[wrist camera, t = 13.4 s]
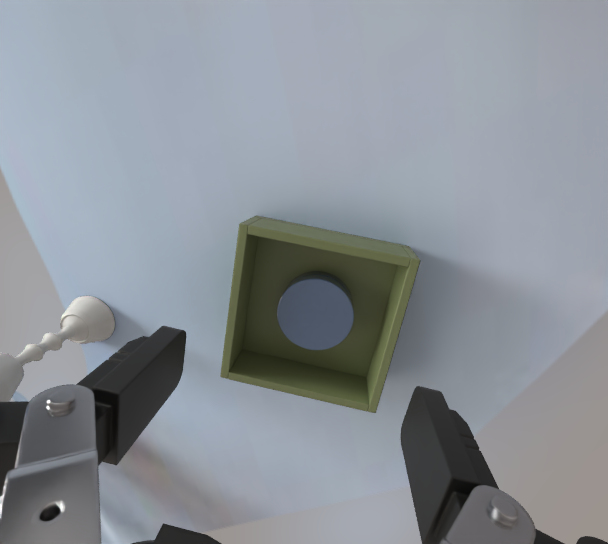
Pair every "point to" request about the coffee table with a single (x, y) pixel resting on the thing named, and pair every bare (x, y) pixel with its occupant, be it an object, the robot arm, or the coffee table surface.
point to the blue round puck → (316, 310)
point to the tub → (269, 288)
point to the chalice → (59, 339)
